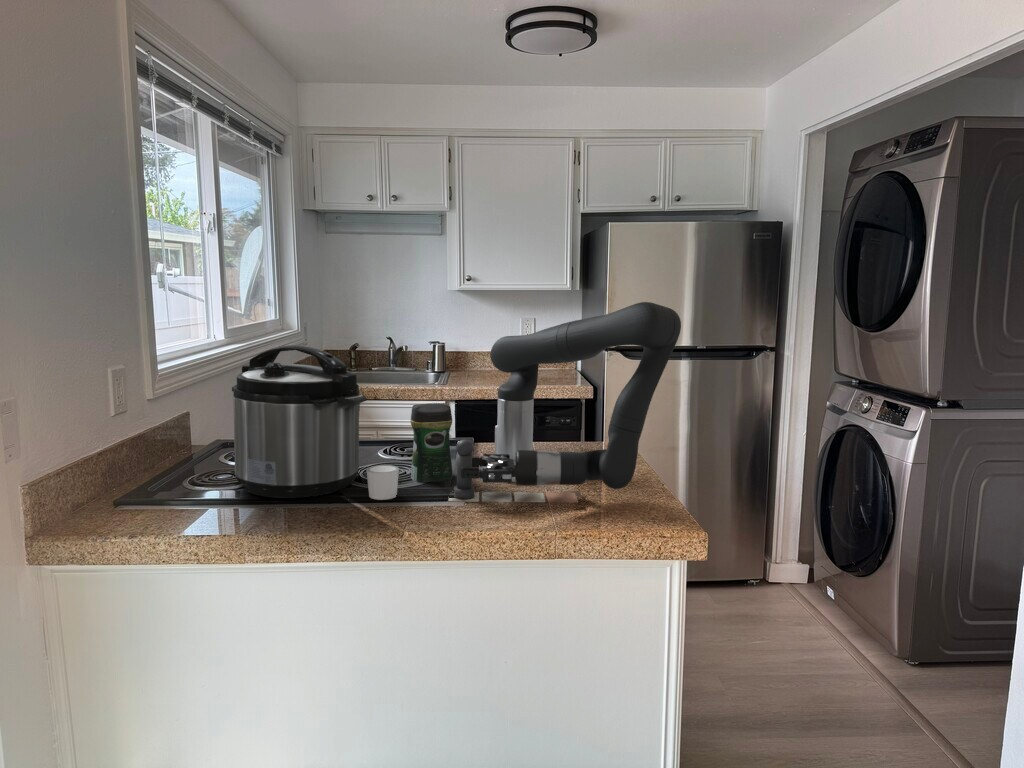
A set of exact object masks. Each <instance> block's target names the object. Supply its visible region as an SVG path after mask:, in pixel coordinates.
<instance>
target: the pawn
mask: <svg viewBox="0 0 1024 768" xmlns="http://www.w3.org/2000/svg"><path fill="white" fill-rule="evenodd" d="M455 450H456V453H457V454H456V485H453V486H454V487H453V492H454V497H455V498H456V499H460V500H468V499H472V498H474V492H476V491H475V489H476V487H475V486H474V485H473V480H472V479H468V478H462V477H461V468H462V467H472V457H473V454H472V453H473V452H474V445H473V444H472V442H471V441H470V440H468V439H461V440H459V441H458V442H457V444H456V448H455Z"/></svg>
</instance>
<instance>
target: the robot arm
mask: <svg viewBox="0 0 1024 768" xmlns="http://www.w3.org/2000/svg"><path fill="white" fill-rule="evenodd" d="M681 329H682V320H681V317H680V315H679V314H678V313H677V312H676V311H675V310H674V309H673V308H670V307H668V306H665V305H660V304H658V303H655V302H650V301H642V302H637V303H633V304H632V305H629V306H626V307H624V308H621V309H618V310H614V311H613V312H610V313H606V314H603V315H596V316H592V317H587V318H583V319H576V320H572V321H568V322H564V323H561V324H557V325H553V326H550V327H548V328H547V327H546V328H544V329H542V330H538V331H536V332H533V333H528V334H524V335H521V334H520V335H507V336H503V337H500V338H498V339H497V340H495V342H494V343H493V345H492V347H491V349H490V353H489V354H490V355H489V357H490V361H491V363H492V365H493V366H494V368H496V369H497V370H498V371H500V372H503V373H508V374H510V375H509V376H510V377H509V378H508V379H507V380H506V381H505V382H504V383H502V384H501V385H499V387H498V390H497V420H496V421H497V422H496V423H497V425H495V426H494V453H483V454H482V455H479V456H472V467H462V468H461V477H462V478H468V479H473V480H474V479H476V480H477V479H478V480H480V481H482V483H484V484H489V483H490V484H491V483H494V484H495V483H497V484H498V483H499V484H500V483H503V484H504V483H508V484H509V483H512V477H515V482H514V483H515V485H516V486H520V487H523V486H526V487H527V486H529V487H530V486H531V487H548V486H550V487H551V486H562V485H563V486H568V485H570V486H579V485H582V484H584V483H585V482H586V481H587V482H588V481H602V482H603V484H605V485H606V486H607V487H609V488H611V489H615V490H619V489H623V488H625V487H626V486H628V485H629V484H630V482H631V481H632V479H633V477H634V474H635V470H636V466H637V459H638V453H639V452H638V451H639V444H640V439H641V436H642V432H643V430H644V426H645V422H646V418H647V415H648V411H649V409H650V405H651V402H652V399H653V396H654V393H655V392H656V389H657V387H658V384H659V382H660V380H661V378H662V375H663V373H664V371H665V369H666V366H667V364H668V363H669V360H670V358H671V356H672V354H673V351H674V349H675V347H676V345H677V343H678V340H679V337H680V334H681ZM621 346H639V347H642V348H643V350H642V355H641V358H640V361H639V364H638V366H637V368H636V369H635V371H634V373H633V375H632V376H631V377H630V379H629V380H628V382H627V383H626V384H625V386H624V388H623V389H622V390H621V392H620V393H619V395H618V397H617V399H616V401H615V403H614V406H613V409H612V413H611V416H610V421H609V425H608V427H607V428H608V429H607V437H608V442H607V447H606V449H596V450H588V451H583V452H581V451H580V452H577V451H553V450H541V449H540V450H539V449H538V450H533V441H534V440H533V439H534V435H533V434H534V400H535V399H534V398H535V391H536V389H537V385H538V381H539V380H538V377H539V368H540V367H539V365H541V364H545V365H546V364H548V365H549V364H565V363H574V362H579V361H585V360H589V359H592V358H595V357H596V356H598V355H599V354H601V353H602V352H604V351H605V349H608V348H612V347H621Z"/></svg>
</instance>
